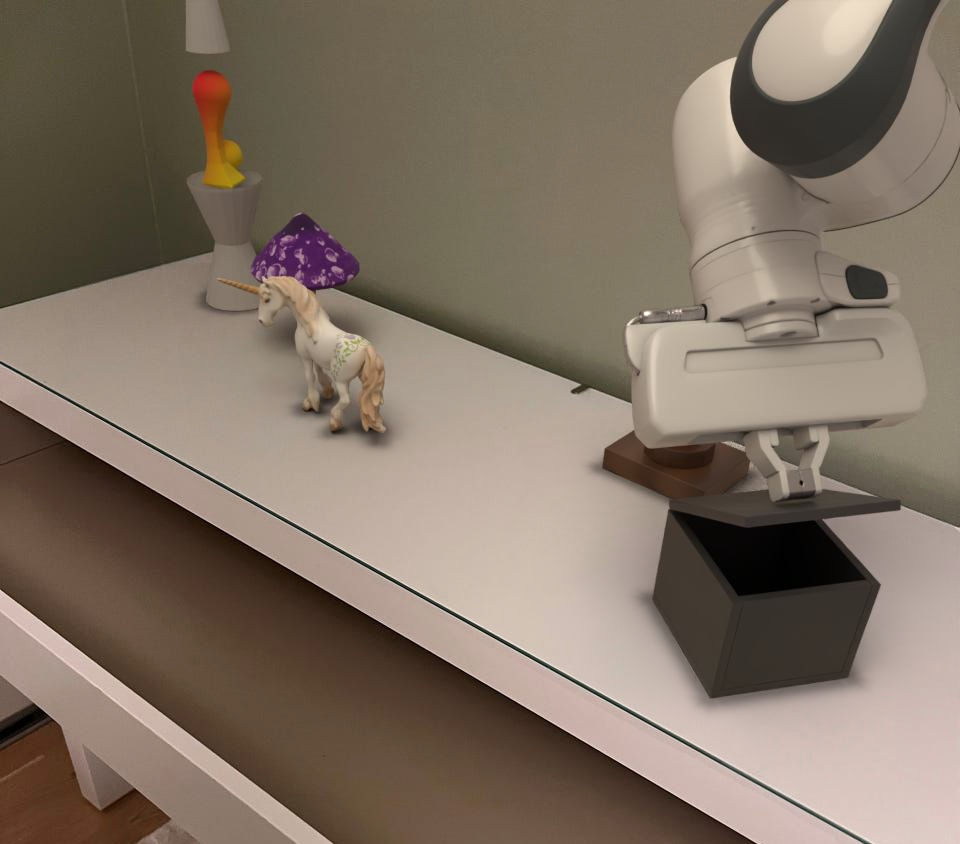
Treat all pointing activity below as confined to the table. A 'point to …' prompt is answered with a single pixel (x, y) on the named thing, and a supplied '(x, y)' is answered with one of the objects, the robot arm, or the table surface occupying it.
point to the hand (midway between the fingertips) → (797, 498)
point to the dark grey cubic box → (762, 602)
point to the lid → (781, 507)
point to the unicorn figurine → (324, 350)
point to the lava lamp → (222, 170)
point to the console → (677, 466)
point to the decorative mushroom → (306, 256)
